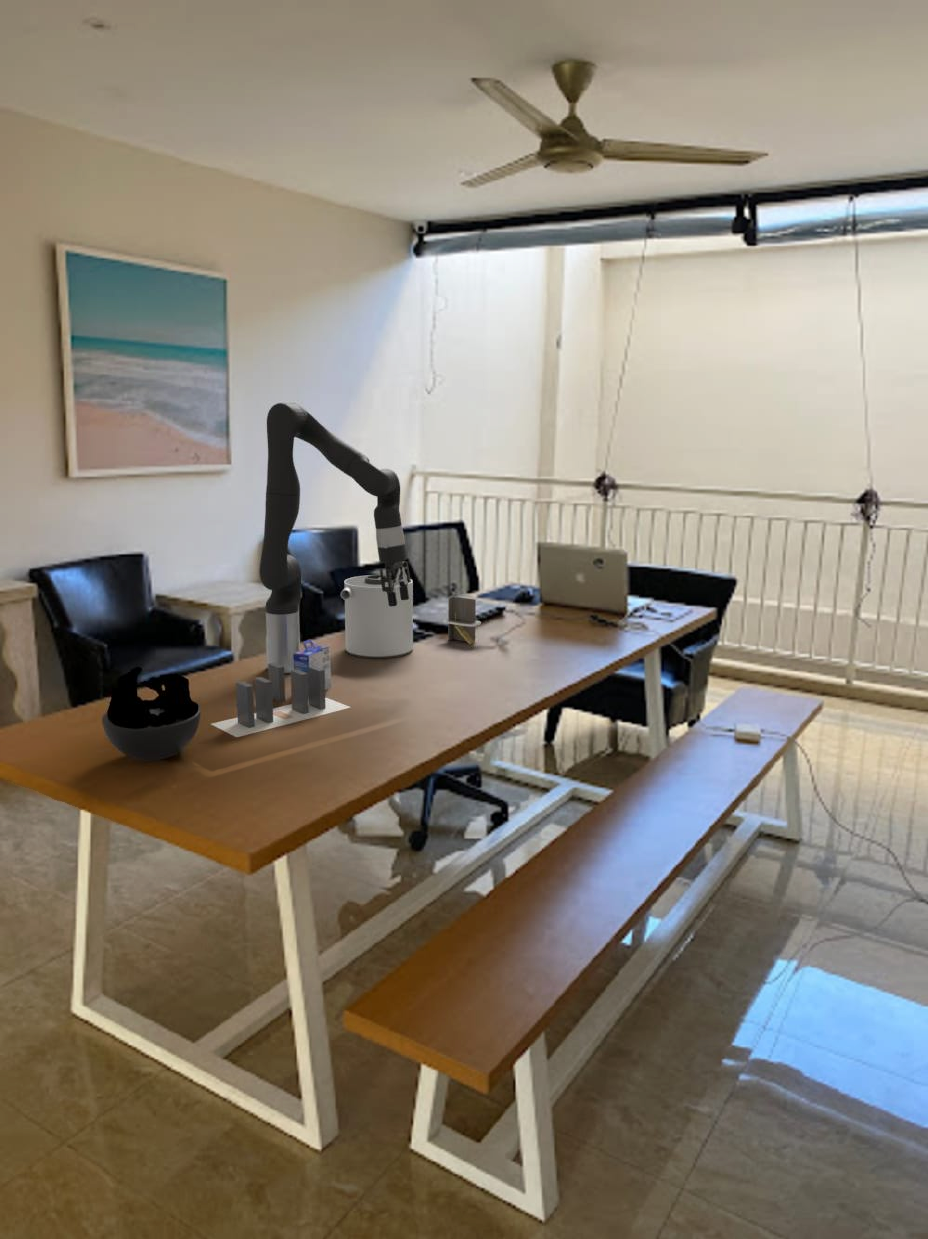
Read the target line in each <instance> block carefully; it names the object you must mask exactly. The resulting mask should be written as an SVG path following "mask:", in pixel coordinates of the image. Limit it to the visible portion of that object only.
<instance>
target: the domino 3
mask: <svg viewBox="0 0 928 1239" xmlns="http://www.w3.org/2000/svg"><path fill="white" fill-rule="evenodd" d="M267 672H268V673H267V676H268V680H269V681H272V700H274V701H276V702H279V703H282V702H285V701H286V684H285V682H286V681H285V673H284V666H281V665H278V664H276V663H270V664H268V668H267Z"/></svg>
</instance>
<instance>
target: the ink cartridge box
mask: <svg viewBox="0 0 928 1239" xmlns="http://www.w3.org/2000/svg"><path fill="white" fill-rule="evenodd" d="M308 643H309V644H310V645H307V644H308ZM302 644H303V647H304V649H302V650H301V649H300V651H299V652H296V653H294V654H293V659H294V670H295V669H297V670H299V671H302V672H305V673H307V674H308V667H309V666H316V667H318V668H321V669H324V670H325V691H327V690H328V689H331V688H332V674H331V650H330V648H331V647H329V646H326V645H325V646H323V645H319V644H314V643H313V641H312V639H310V638H309V639H307V640H304V641H303V642H302ZM308 698H309V695H308Z"/></svg>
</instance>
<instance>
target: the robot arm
mask: <svg viewBox="0 0 928 1239" xmlns="http://www.w3.org/2000/svg"><path fill="white" fill-rule="evenodd" d="M266 436H267V437H266V438H267V470H266V471H267V472H266V473H267V474H266V490H265V512H264V513H265V515H264V528H263V529H264V531H263V544H262V550H261V555H260V561H259V572H258V573H259V574H258V575H259V579H260V582H261V583H262V585H263V586H264V587H265V588H266V589H268V590H270V591H271V593H270V595H269V597H268V599H267V600H266V602H265V618H266V619H265V625H266V636H265V651H266V652H265V654H266V668H267V669H268V664H270V663H276V664H278V665H281V666H284V674H291V670H294V659H293V654H294V653H296V652H299V651H301V642H300V641H301V640H300V616H299V615H300V614H299V607H300V603H301V599H302V570H301V566H300V563H299V561H298V559H297V558H296V557H294V556H292V555H291V554H288V548H289V547H288V546H289V540H290V537H291V534H292V532H293V529H294V526H295V524H296V522H297V519H298V516H299V511H300V503H301V502H300V501H301V500H300V499H301V486H300V485H301V484H300V480H299V476H298V472H297V469H296V467H295V460H294V445H295V444H294V442H295V438H297V439H300V440H301V441H303V442H306V443H308V444H309V445H311V446H313V447H314V448H315V449H316V450H318V452H320V453H321V455H323V457H324V458H325V459H326V460H327V461H328V462H329V464H331V465H332V466H334V467H336V469H338V470H339V471H340V472H342V473H344V474H345V475H347V476H348V477H350V478H351V479H353V480H354V482H356V484H358V486H360V488H362V489H363V490H364V491H365V492H366V493H367V494H370V495H371V496H373V497H374V496H375V497H376V498H377V500H376V501H377V503H376V504H377V506H376V507H375V508H374V510H373V519H374V526H375V527H374V528H375V540H376V547H377V554H378V560H379V563H380V564H385V566H384V567H385V568H383V569H382V568H381V569H380V570H379V573H380V574H379V575H381V583H382V591H383V592H386V593H387V596H388V603H389V606H390V607H391V606H396V605H397V599H396V592H395V589H396V585H397V584H398V585H399V586H401V587H399V589H400V597H401V600H408V599H409V594H408V587H407V586H408V583H409V582H410V581H411V580H410V579H411V575H410V569H409V563H408V561H406V560H407V559H408V556H407V548H406V542H405V534H404V530H403V526H402V520H401V513H400V506H401V504H400V503H401V483H400V479H399V477H398V474H397V473H396V472H395V471H394V470H392V469H390V468H384V469H383V468H382V469H379V468H378V467H376V466H375V465H373V463H371V462H370V459H369V457H367V456H366V455H365V454H364V453H363V452H361V451H359V450H358V449H357V448H355V447H353V446H352V445H350V444H349V443H347V442H345V440H343V439H341V438H340V437H339V436H337V435H336V434H335V433H333V432H331V430H329V429H328V428H327V427H325V425H323V424H322V423H321V422H319V420H318V419H316V418H315V416H314V415H312V413H310V412H309V411H308V410H307V409H306V408H305V407H303V406H302V405H301V404H299V403H296V402H279V403H275V404H274V405H272V406H271V408H270V409H269V411H268V413H267V417H266ZM385 584H386V587H385Z"/></svg>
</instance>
